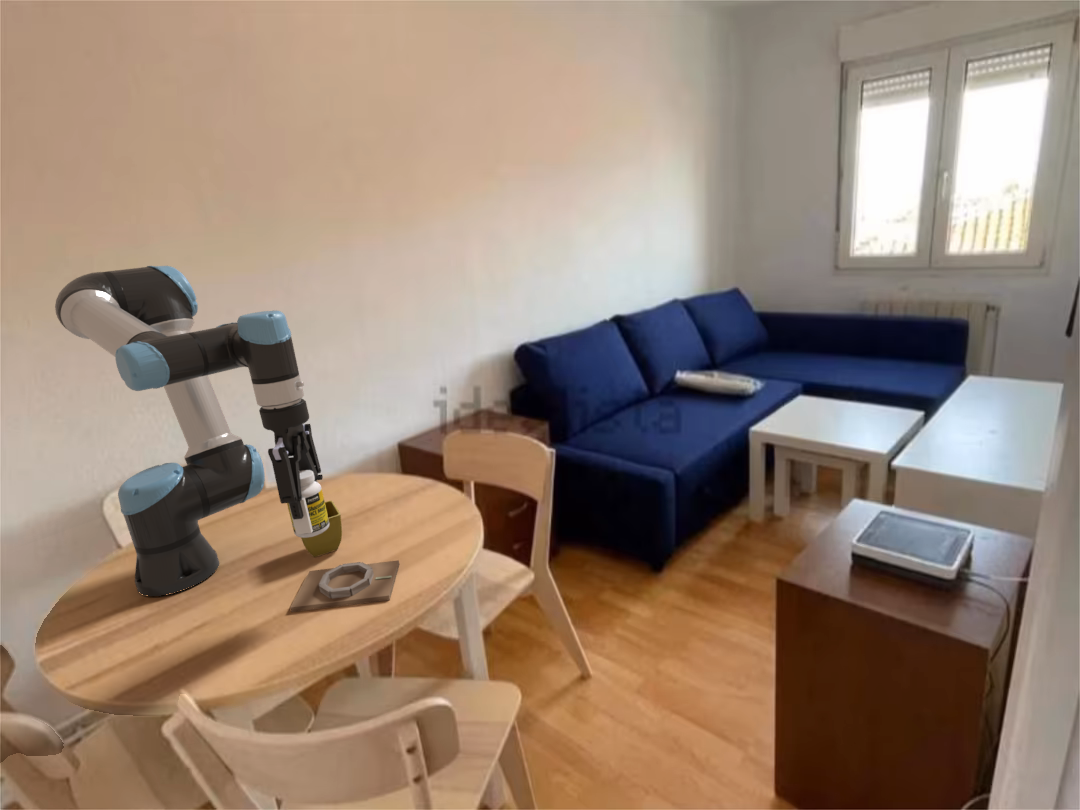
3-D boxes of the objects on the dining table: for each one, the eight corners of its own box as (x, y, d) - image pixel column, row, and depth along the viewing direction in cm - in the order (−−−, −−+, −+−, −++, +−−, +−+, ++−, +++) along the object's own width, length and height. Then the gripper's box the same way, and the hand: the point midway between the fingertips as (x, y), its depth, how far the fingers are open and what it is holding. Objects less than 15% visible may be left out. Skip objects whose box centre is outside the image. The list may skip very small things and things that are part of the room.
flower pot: (349, 551, 128) (341, 513, 126) (307, 565, 124) (298, 527, 122) (339, 535, 136) (331, 499, 133) (299, 548, 132) (290, 511, 129)
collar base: (291, 612, 109) (288, 601, 108) (310, 575, 120) (308, 564, 120) (389, 600, 110) (387, 588, 109) (399, 564, 121) (397, 554, 121)
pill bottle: (317, 539, 105) (303, 482, 102) (287, 538, 106) (273, 482, 103) (337, 522, 111) (324, 467, 107) (308, 521, 112) (295, 467, 109)
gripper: (281, 417, 92) (314, 548, 99) (321, 386, 111) (346, 498, 117) (234, 422, 92) (269, 553, 99) (282, 390, 111) (309, 502, 117)
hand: (311, 523), depth 108 cm, fingers closed on pill bottle, 6 cm apart
